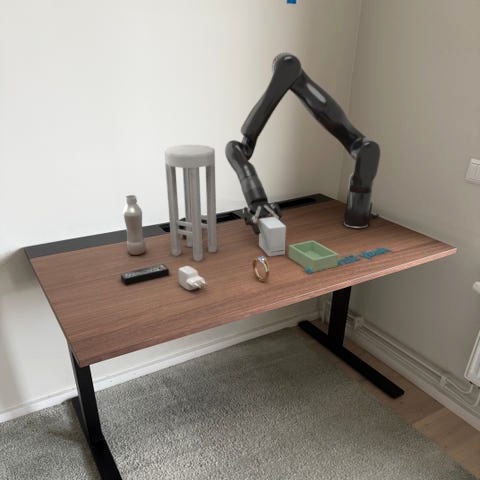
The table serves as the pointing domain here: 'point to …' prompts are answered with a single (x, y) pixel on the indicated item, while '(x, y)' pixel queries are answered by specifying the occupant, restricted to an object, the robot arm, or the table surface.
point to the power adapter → (190, 278)
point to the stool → (191, 196)
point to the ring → (266, 266)
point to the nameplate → (340, 262)
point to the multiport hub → (144, 274)
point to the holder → (313, 255)
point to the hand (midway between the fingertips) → (269, 232)
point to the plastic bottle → (134, 226)
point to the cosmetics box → (272, 236)
